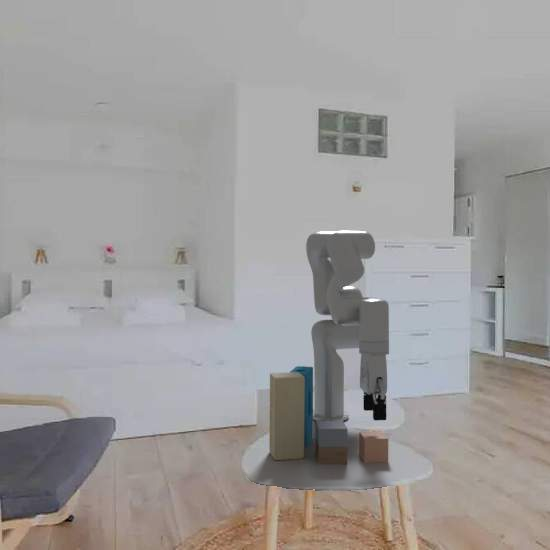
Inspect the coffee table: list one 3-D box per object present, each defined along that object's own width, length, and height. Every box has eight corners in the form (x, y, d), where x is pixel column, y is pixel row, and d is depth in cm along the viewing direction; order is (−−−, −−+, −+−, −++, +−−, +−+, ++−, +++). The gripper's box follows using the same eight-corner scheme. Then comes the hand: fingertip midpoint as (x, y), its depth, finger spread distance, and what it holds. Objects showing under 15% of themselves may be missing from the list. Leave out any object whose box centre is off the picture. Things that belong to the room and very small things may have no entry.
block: (305, 449, 144) (305, 375, 144) (287, 448, 145) (287, 374, 145) (313, 435, 156) (313, 366, 155) (296, 434, 157) (296, 366, 156)
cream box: (297, 448, 145) (297, 371, 144) (305, 458, 137) (305, 376, 137) (268, 451, 143) (268, 372, 142) (274, 461, 136) (274, 378, 135)
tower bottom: (315, 455, 140) (315, 438, 140) (342, 454, 141) (342, 437, 141) (319, 465, 133) (319, 447, 133) (347, 464, 134) (347, 446, 134)
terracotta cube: (359, 454, 140) (359, 431, 140) (381, 453, 141) (381, 431, 141) (364, 462, 134) (364, 439, 134) (388, 462, 135) (388, 438, 135)
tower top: (315, 437, 140) (315, 420, 140) (342, 437, 141) (342, 420, 140) (319, 447, 133) (319, 429, 133) (347, 446, 134) (347, 428, 133)
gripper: (352, 343, 145) (352, 407, 145) (367, 352, 128) (368, 424, 128) (379, 343, 146) (379, 406, 146) (398, 352, 129) (399, 423, 128)
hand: (374, 414), depth 137 cm, fingers open, 9 cm apart
